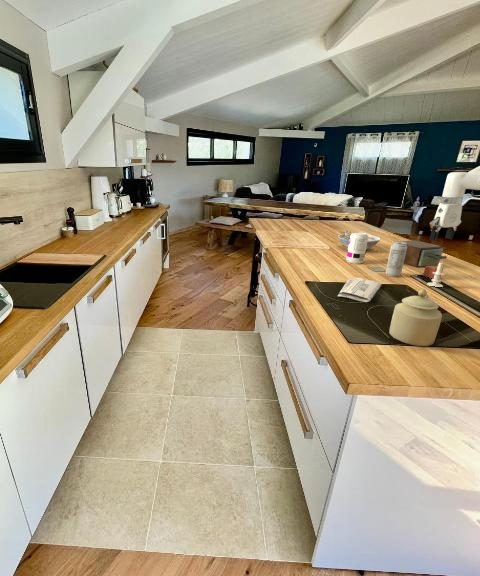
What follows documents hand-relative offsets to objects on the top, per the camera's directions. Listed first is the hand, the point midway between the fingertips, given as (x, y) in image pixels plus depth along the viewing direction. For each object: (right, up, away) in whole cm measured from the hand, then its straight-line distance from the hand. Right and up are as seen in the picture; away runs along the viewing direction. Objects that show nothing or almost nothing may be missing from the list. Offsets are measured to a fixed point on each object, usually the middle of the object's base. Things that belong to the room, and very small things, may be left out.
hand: (440, 239), depth 146 cm
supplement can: (-32, -9, +17) cm, 37 cm away
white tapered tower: (-16, -22, -17) cm, 32 cm away
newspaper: (-50, -24, -21) cm, 60 cm away
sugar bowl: (-53, -37, -54) cm, 84 cm away
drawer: (-1, -10, +10) cm, 15 cm away
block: (-10, -18, -7) cm, 22 cm away
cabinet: (-3, -10, +15) cm, 18 cm away
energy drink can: (-25, -17, -4) cm, 31 cm away
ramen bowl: (-17, 0, +42) cm, 46 cm away
